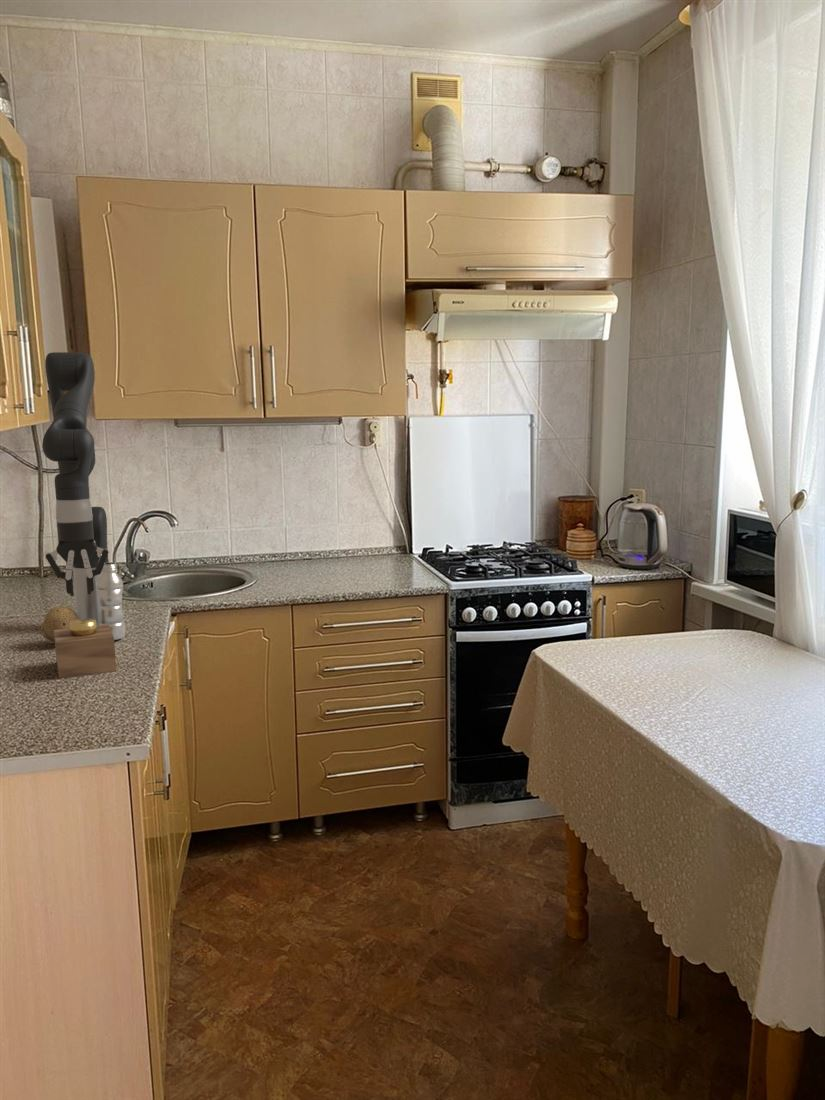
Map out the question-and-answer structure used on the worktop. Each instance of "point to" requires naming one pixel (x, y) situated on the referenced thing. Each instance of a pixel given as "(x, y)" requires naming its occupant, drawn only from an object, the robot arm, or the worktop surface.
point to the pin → (83, 627)
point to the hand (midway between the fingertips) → (80, 594)
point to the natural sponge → (57, 621)
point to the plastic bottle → (111, 600)
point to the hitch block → (85, 652)
